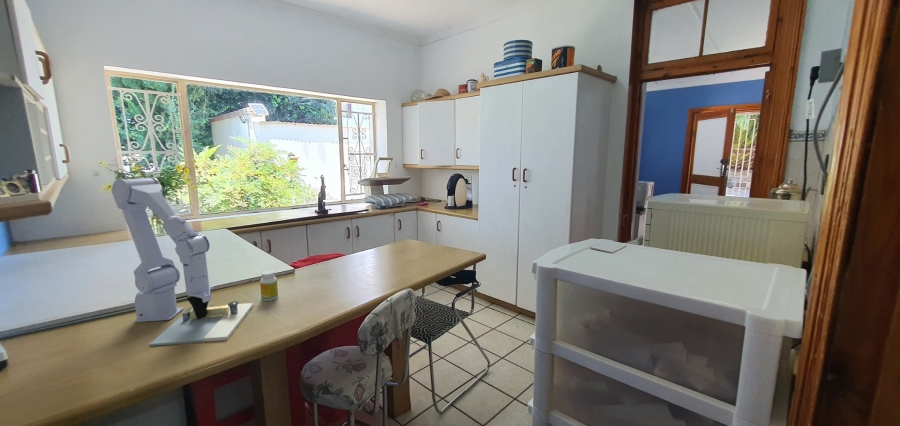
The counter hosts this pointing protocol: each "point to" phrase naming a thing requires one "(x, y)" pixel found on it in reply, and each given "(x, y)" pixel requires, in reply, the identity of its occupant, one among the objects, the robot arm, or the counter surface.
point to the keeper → (187, 313)
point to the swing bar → (213, 311)
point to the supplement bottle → (268, 286)
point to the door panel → (203, 328)
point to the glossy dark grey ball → (233, 307)
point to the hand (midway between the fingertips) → (201, 317)
